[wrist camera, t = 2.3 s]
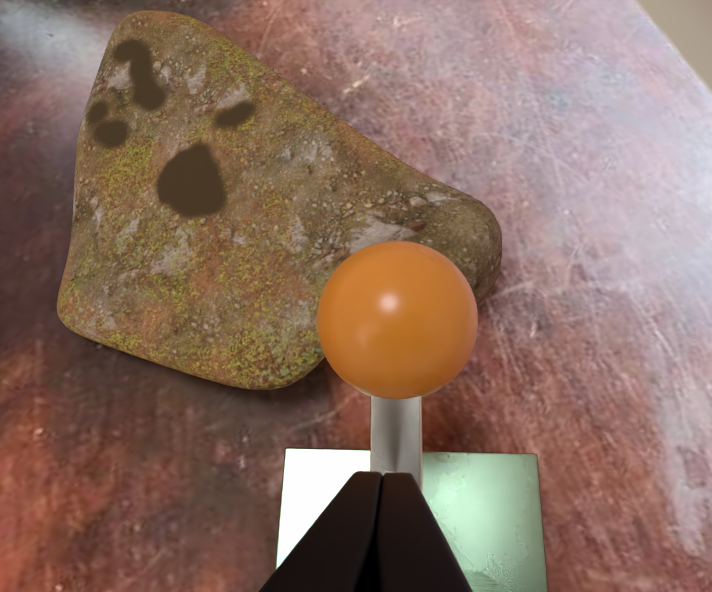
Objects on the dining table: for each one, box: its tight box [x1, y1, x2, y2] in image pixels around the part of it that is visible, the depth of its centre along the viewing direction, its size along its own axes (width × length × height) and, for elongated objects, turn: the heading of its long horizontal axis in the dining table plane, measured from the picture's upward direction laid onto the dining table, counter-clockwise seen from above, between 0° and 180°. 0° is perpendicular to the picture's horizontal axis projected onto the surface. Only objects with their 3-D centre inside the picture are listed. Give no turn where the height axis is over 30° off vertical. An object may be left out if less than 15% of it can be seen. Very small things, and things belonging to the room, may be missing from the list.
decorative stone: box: [57, 10, 502, 390], centre depth 26 cm, size 25×15×5 cm, turn 42°
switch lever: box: [317, 241, 478, 494], centre depth 12 cm, size 11×4×4 cm, turn 178°
